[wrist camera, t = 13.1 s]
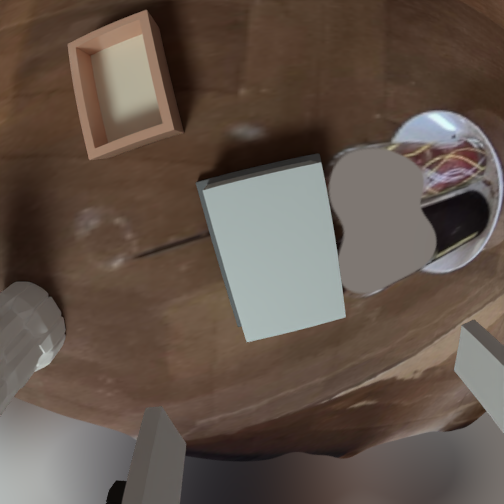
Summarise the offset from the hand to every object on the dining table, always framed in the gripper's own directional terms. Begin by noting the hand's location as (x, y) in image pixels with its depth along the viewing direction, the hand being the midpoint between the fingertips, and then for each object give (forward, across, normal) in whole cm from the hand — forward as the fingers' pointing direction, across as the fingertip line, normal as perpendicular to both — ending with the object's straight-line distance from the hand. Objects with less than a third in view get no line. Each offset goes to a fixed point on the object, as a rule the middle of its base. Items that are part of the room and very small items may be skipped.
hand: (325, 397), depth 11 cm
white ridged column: (+22, -32, -2) cm, 39 cm away
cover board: (+21, 0, 0) cm, 21 cm away
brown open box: (+22, -9, +19) cm, 30 cm away
